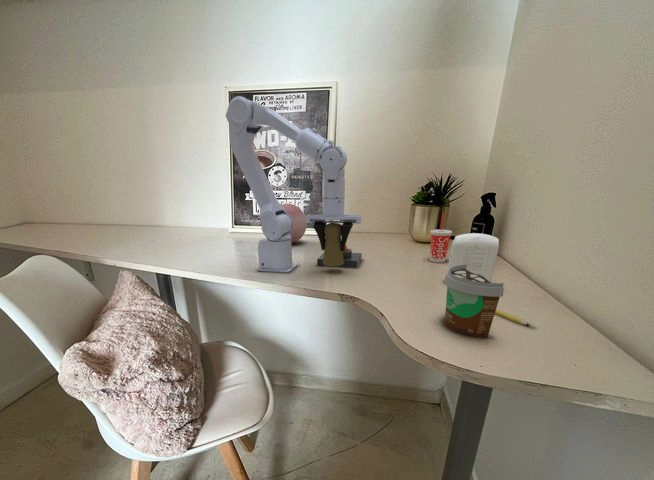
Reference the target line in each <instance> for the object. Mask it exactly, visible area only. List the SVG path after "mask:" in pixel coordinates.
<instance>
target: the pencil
mask: <svg viewBox="0 0 654 480" xmlns="http://www.w3.org/2000/svg"><path fill="white" fill-rule="evenodd" d="M494 315H496V316H499V317H502V318H504V319H506V320H509V321H512V322H515V323H516V324H519V325H522V326H527V327H528V326H529V327H531V325H530V324H529V323H528V322H527V321H526V320H524V319H522V318H519V317H517V316H514V315H512V314H509V313H507V312H504V311H501V310H499V309H497V308H496V311H495V314H494Z"/></svg>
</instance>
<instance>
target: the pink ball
mask: <svg viewBox="0 0 654 480" xmlns="http://www.w3.org/2000/svg"><path fill="white" fill-rule="evenodd" d="M280 204H281V203H280ZM281 205H282V206H283V207H284V209H285V211H286V213H287V214H289V215H290V216H291V218H292V220H293V229H292V231H291V232H290V235H291V244H295V243H296V242H298V241H299V240H301V239H302V237H303V236H305V233H306V230H307V226H308V223H307V221H306V214H305V213H304V211H303V210H302V209H301V208H300V207H299V206H297V205H295V204H293V203H282V204H281Z"/></svg>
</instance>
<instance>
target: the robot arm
mask: <svg viewBox="0 0 654 480" xmlns="http://www.w3.org/2000/svg"><path fill="white" fill-rule="evenodd" d="M225 118H226V120H227V123H228V136H229V146H230V148H231V151H232V152H233V154H234V157H235V159H236V160H237V161H236V162H238V166H239V167H240V169H241V171H242V173H243V176H244V178H245V180H246V182H247V184H248V186H249V188H250V190H251V193H252V194H253V197H254V200H255V201H256V203H257V205H258V208H259V213H258V218H259V221H260V223H261V232H262V234H263V235H264V237H265V238H264V237H263V238H260V239H259V241H258V244H257V255H258V256H257V257H258V271H259V272H260V271H261V272H272V273H286V274H287V273H290V272H291V271H292V270H294V269H295V268H296V267H297V266H298V264H297V263H293V249H292V247H293V246H292V244H293V243H291V235H290V232H291V231H292V229H293V220H292V218H291V216H290V215H289V214H287V213H286V211H285V209H284V207H283V206H282V205H281V203H280V202H279V201H278V199H277V197H276V195H275V193H274V190H273V188H272V185H271V184H270V182H269V180H268V177H267V175H266V173H265V170H264V169H263V166H262V164H261V161H260V159H259V157H258V155H257V153H256V150H255V149H254V146H253V144H254V141H255V139H256V136H257V134H259V132H260V130H261V129H262V128H263V127H264V128H271V129H272V130H274V131H276V132H278V133H279V134H281V135H283V137H286V138H287V139H288V140H290V141H293V142H294V144H295V149H296V151H298V152H300V153H301V154H302V155H304V156H305V157H307V158H308V159H309V160H311V161H312V162H315V163H316V164H319V165H320V167H321V169H322V213H321V214H307V215H305V217H306V221H307V224H311V223H313V226H312V227H313V229H314V231H315V233H316V235H317V238H318V240H319V243H320V248H321V251H324V249H325V240H326V235H325V234H324V227H325V225H327V224H330V223H338V224H341V251H344V250H345V245H347V241H348V238H349V235H350V233H351V230H352V229H353V226H354V224H355V225H360V224H361V223H362V215H360V214H359V215H358V214H345V199H346V198H345V195H346V193H345V191H346V190H345V189H346V179H345V176H346V175H345V174H346V172H345V167H346V165H347V162H348V156H347V153H346V151H345V150H344V149H343V148H342V147H341V146H338V145H337V146H334V143H335V142H334V141H333V140H331V139H329V140H328V139H326V138H324V137H323V136H322V135H320V134H319V130H317V129H316V128H314V127H312V128H310V127H306V128H303V129H301V128H299V127H297V126H296V125H295V124H294V123H293V122H291V121H290V120H288V119H287V118H285V117H284V116H282V115H281V114H279V113H278V112H276V111H275V110H274V109H272V108H270V107H267V106H265V105H263V104H261V103H260V102H256V101H252V100H249V99H248V98H246V97H244V96H241V95H237V96H234V97H233V98H231V100H230V101H229V104H228V106H227V110H226V113H225Z"/></svg>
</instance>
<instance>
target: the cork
mask: <svg viewBox="0 0 654 480" xmlns="http://www.w3.org/2000/svg"><path fill="white" fill-rule="evenodd" d="M341 225H342V223H327V224H326V225H325V227H324V234H325V235H326V240H325V249H324V250H323V253H324V256H323V265H325V266H324V267H329V266H341V265H343V264H344V260H343V251H341V240H342V237H341Z"/></svg>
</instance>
